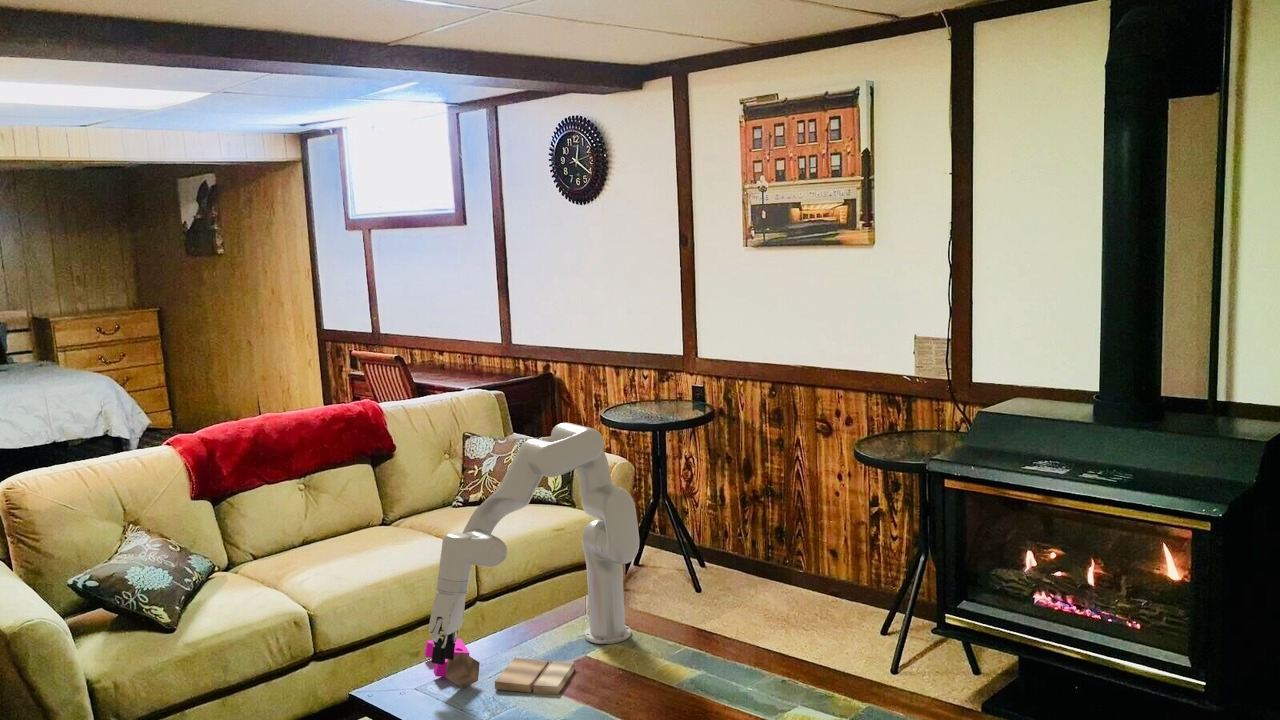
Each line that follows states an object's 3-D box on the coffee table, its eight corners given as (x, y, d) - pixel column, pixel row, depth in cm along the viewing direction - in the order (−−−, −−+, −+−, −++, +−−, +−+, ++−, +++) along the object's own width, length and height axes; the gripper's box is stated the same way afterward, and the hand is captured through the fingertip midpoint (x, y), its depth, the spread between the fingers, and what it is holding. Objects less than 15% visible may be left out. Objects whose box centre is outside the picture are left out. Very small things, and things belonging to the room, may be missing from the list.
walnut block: (464, 669, 253) (447, 659, 249) (479, 662, 251) (463, 652, 248) (462, 688, 249) (445, 677, 246) (478, 680, 247) (461, 670, 244)
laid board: (551, 668, 257) (551, 660, 257) (574, 669, 256) (574, 661, 256) (533, 693, 244) (533, 684, 244) (557, 694, 242) (557, 686, 242)
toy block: (469, 653, 255) (440, 651, 252) (465, 677, 255) (435, 676, 252) (456, 632, 269) (428, 630, 266) (452, 655, 269) (424, 654, 266)
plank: (514, 664, 260) (514, 657, 259) (548, 668, 258) (548, 660, 257) (494, 688, 246) (494, 680, 246) (530, 692, 244) (530, 684, 244)
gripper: (452, 577, 256) (442, 649, 255) (422, 588, 239) (412, 666, 239) (480, 582, 254) (470, 655, 254) (452, 594, 237) (441, 673, 237)
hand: (442, 660), depth 246 cm, fingers open, 4 cm apart
